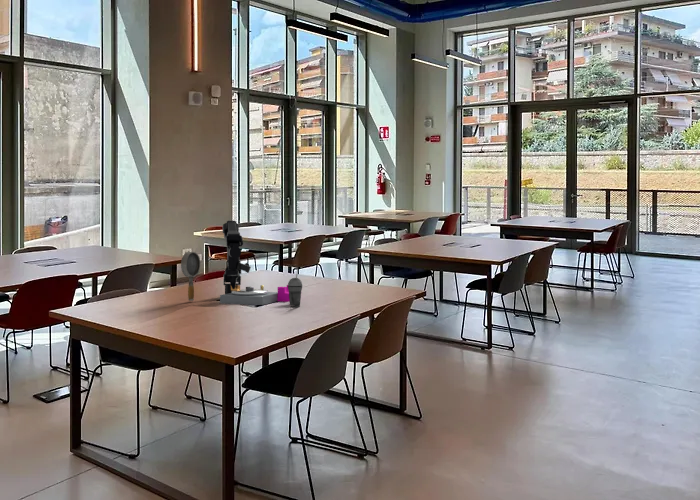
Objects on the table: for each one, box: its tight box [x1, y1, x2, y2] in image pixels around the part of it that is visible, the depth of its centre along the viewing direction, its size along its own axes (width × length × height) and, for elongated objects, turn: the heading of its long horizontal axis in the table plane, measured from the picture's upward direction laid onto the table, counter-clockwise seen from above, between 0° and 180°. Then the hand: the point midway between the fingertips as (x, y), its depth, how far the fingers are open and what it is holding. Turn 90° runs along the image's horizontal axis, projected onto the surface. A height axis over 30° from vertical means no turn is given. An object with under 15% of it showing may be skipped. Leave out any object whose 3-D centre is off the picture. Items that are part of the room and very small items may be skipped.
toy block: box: [277, 284, 290, 303], centre depth 334 cm, size 15×6×8 cm, turn 165°
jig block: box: [219, 291, 279, 306], centre depth 326 cm, size 23×23×4 cm
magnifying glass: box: [180, 251, 201, 302], centre depth 330 cm, size 13×3×25 cm, turn 160°
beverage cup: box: [287, 268, 303, 309], centre depth 314 cm, size 7×7×20 cm
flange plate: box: [231, 285, 269, 295], centre depth 325 cm, size 20×18×4 cm
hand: (233, 288), depth 326 cm, fingers closed
